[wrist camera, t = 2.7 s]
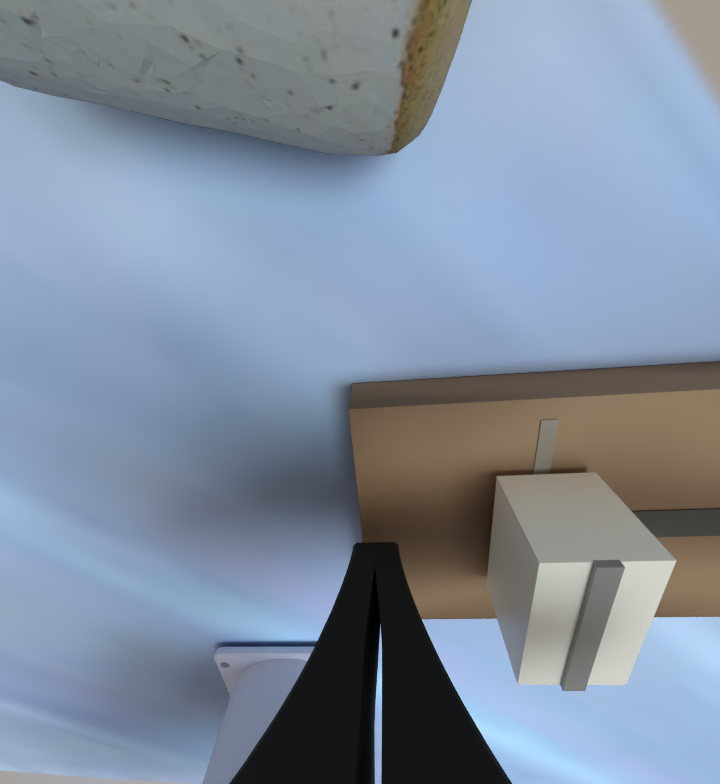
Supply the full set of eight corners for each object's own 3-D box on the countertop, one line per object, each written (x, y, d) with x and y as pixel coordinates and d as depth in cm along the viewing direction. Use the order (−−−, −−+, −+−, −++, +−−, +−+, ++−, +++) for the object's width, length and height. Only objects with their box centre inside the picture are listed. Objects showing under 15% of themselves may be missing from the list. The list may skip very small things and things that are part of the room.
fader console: (938, 567, 15) (1020, 615, 13) (372, 577, 17) (371, 620, 15) (1135, 336, 11) (1296, 358, 9) (352, 383, 12) (348, 410, 11)
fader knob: (568, 581, 13) (629, 691, 10) (486, 582, 13) (519, 690, 10) (594, 471, 11) (681, 566, 8) (496, 475, 11) (542, 569, 8)
